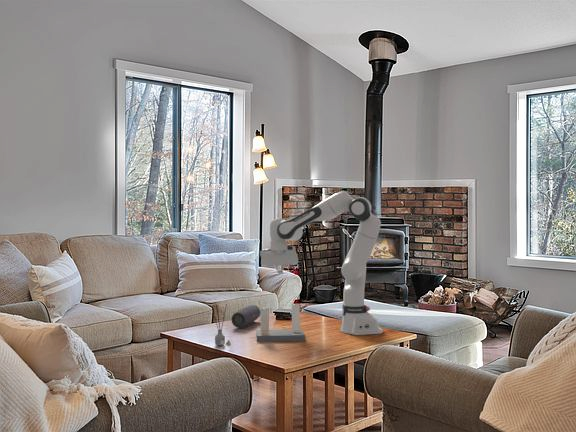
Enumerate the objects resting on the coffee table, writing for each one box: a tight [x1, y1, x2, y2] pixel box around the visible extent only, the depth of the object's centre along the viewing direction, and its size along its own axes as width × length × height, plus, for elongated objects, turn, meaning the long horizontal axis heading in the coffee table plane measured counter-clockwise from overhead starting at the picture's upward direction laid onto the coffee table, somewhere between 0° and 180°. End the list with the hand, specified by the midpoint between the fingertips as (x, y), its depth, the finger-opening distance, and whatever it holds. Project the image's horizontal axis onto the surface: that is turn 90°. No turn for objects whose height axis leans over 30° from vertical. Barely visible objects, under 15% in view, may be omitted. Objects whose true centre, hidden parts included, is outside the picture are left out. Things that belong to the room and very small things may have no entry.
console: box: [255, 329, 306, 343], centre depth 307 cm, size 24×12×3 cm, turn 94°
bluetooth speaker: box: [231, 304, 261, 328], centre depth 337 cm, size 23×9×10 cm, turn 162°
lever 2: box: [291, 303, 301, 331], centre depth 310 cm, size 4×2×14 cm, turn 94°
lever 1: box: [260, 307, 270, 333], centre depth 303 cm, size 4×2×14 cm, turn 94°
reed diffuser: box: [211, 304, 231, 346], centre depth 294 cm, size 10×7×20 cm
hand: (280, 273), depth 329 cm, fingers closed
